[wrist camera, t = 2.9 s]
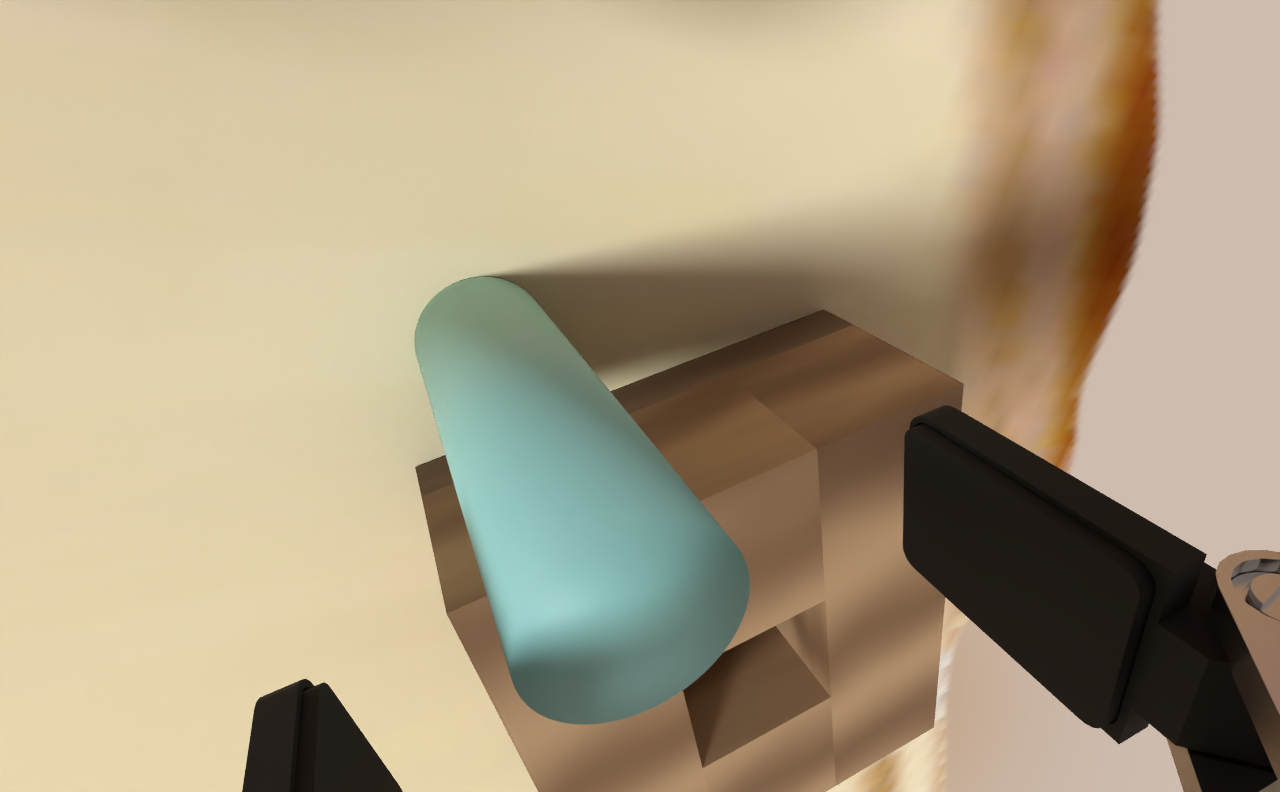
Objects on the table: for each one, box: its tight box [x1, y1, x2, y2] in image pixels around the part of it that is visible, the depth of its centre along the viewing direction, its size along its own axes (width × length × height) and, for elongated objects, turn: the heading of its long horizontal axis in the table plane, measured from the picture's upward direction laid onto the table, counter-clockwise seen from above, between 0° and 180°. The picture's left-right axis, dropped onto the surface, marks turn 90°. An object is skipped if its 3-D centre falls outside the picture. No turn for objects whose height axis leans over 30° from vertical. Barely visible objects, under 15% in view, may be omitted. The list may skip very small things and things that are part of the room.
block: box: [415, 310, 963, 792], centre depth 23 cm, size 16×14×6 cm
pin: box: [415, 277, 750, 725], centre depth 14 cm, size 4×4×11 cm
